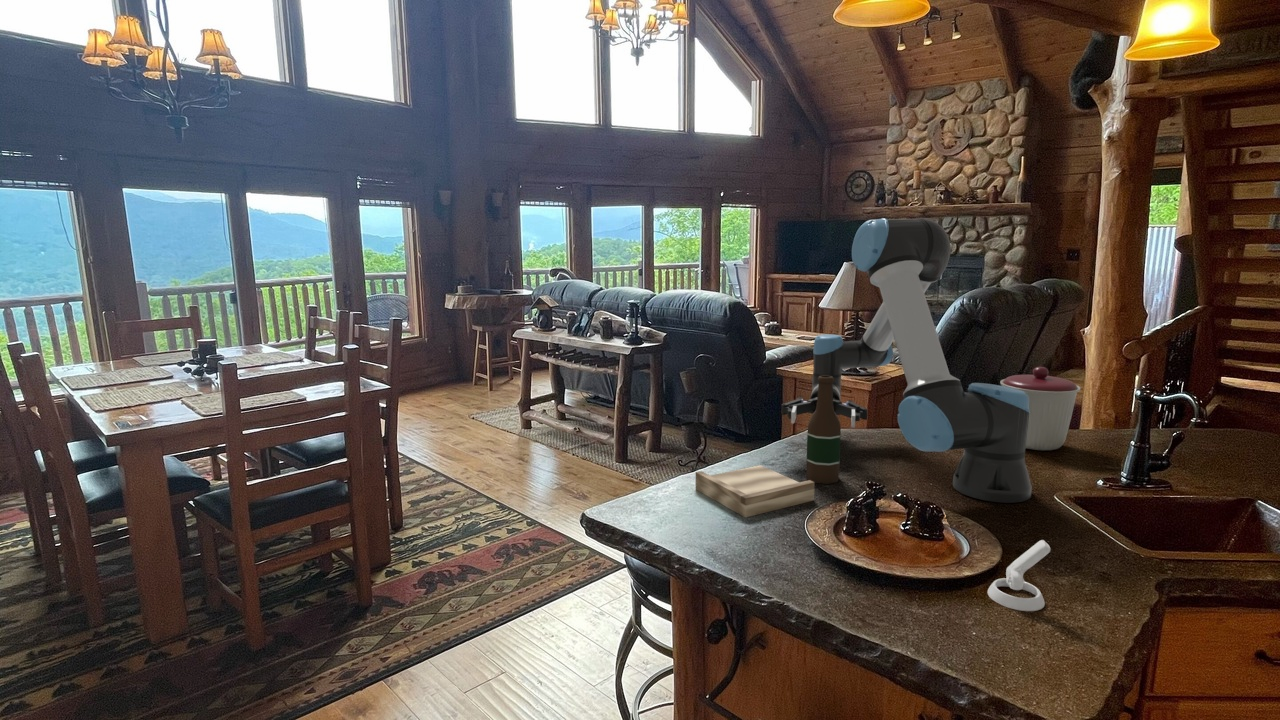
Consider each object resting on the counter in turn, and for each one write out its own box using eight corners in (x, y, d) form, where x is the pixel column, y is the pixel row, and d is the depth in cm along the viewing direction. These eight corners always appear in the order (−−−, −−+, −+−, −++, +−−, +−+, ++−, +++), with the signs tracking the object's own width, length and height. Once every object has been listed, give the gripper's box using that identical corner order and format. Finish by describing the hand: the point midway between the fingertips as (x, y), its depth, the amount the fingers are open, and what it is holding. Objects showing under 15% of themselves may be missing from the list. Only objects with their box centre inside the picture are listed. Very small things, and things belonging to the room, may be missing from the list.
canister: (981, 442, 181) (987, 365, 178) (1017, 432, 191) (1024, 358, 187) (1052, 460, 166) (1060, 376, 163) (1087, 447, 176) (1096, 368, 173)
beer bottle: (800, 473, 159) (803, 373, 155) (832, 472, 160) (836, 372, 156) (811, 485, 151) (814, 380, 147) (845, 483, 152) (849, 379, 148)
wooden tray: (813, 500, 143) (814, 482, 142) (745, 517, 134) (745, 498, 133) (759, 475, 158) (760, 458, 157) (695, 489, 150) (695, 472, 149)
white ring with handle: (1092, 588, 95) (1051, 561, 95) (1027, 635, 101) (989, 609, 101) (1074, 554, 102) (1036, 529, 102) (1015, 600, 108) (978, 576, 108)
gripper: (874, 416, 174) (878, 439, 154) (776, 410, 181) (768, 431, 161) (876, 387, 173) (880, 407, 153) (777, 383, 180) (768, 401, 160)
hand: (822, 419), depth 157 cm, fingers open, 13 cm apart
